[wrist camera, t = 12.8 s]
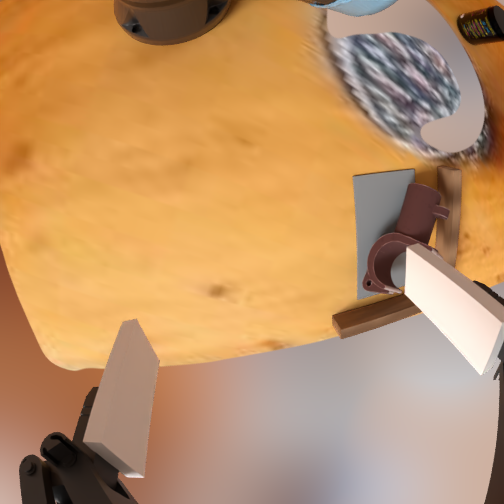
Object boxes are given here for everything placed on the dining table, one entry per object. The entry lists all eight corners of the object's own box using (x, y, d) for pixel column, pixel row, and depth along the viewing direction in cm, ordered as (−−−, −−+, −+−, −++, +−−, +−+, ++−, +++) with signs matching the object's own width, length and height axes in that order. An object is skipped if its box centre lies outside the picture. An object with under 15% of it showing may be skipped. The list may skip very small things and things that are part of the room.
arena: (323, 180, 37) (334, 185, 34) (445, 166, 38) (461, 169, 35) (332, 325, 47) (341, 339, 43) (437, 290, 48) (448, 300, 44)
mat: (352, 176, 37) (353, 176, 37) (413, 169, 38) (414, 169, 38) (357, 298, 45) (357, 299, 45) (410, 282, 46) (411, 283, 45)
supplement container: (472, 52, 30) (512, 47, 21) (451, 24, 28) (490, 14, 19) (480, 36, 29) (517, 30, 19) (460, 9, 27) (496, 0, 17)
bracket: (352, 285, 40) (408, 313, 32) (389, 177, 38) (449, 189, 30) (371, 290, 44) (422, 314, 36) (405, 192, 42) (458, 205, 34)
